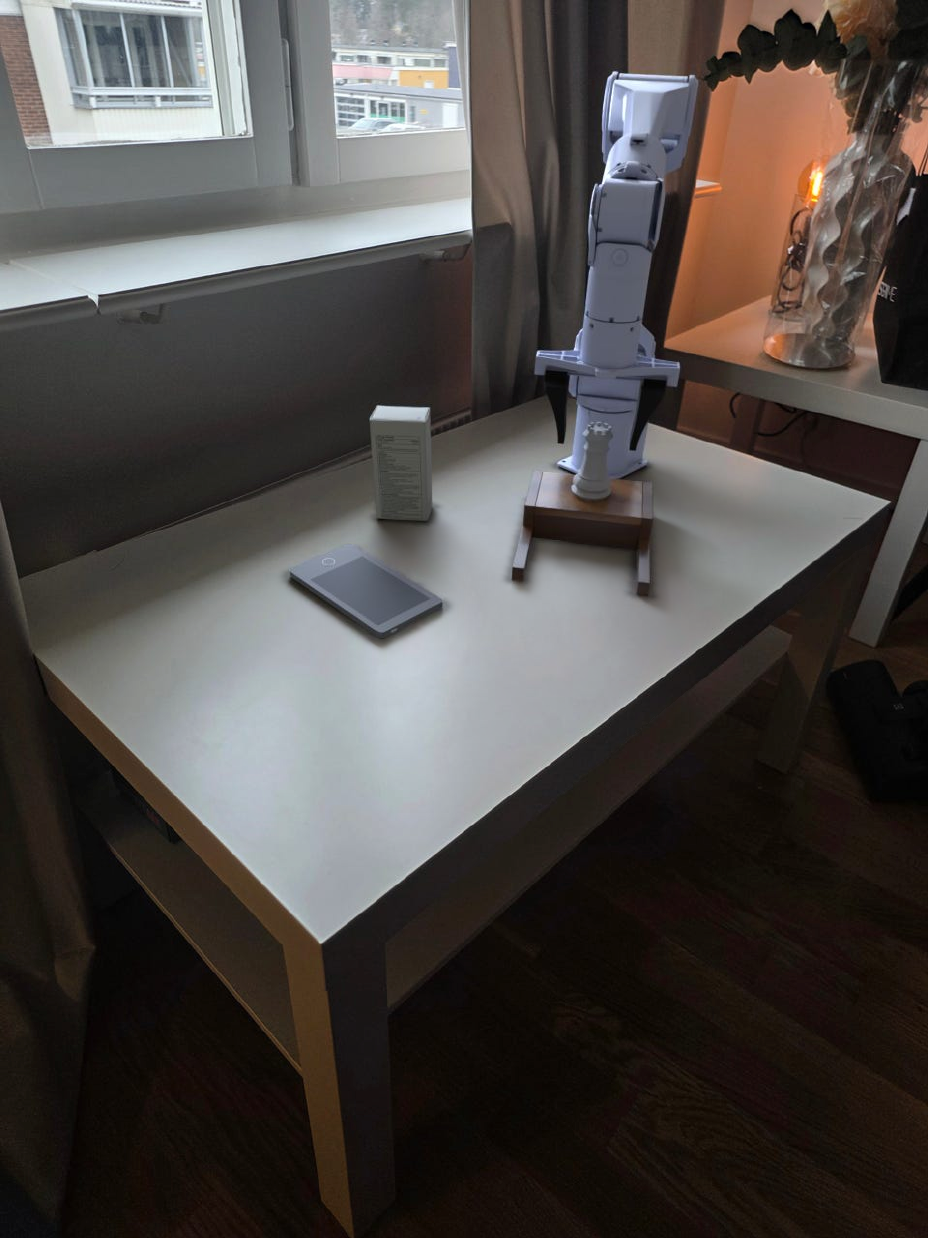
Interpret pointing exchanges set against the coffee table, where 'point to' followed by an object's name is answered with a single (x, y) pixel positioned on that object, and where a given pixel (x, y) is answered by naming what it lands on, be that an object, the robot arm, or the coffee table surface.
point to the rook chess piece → (594, 465)
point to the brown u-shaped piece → (588, 519)
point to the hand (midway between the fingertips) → (596, 443)
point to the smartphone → (366, 590)
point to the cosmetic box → (402, 462)
